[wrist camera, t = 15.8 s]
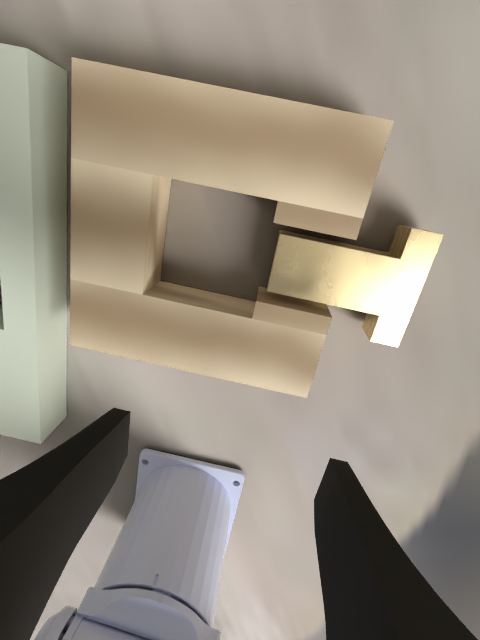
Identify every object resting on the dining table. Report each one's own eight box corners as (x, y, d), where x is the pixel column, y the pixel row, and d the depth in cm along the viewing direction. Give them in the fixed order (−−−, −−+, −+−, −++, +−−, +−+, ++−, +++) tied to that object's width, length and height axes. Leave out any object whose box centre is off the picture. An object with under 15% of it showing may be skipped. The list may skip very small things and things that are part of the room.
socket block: (303, 372, 22) (306, 398, 19) (95, 325, 23) (69, 344, 20) (375, 132, 17) (394, 120, 14) (104, 78, 17) (71, 57, 15)
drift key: (387, 332, 20) (397, 347, 18) (262, 305, 20) (260, 317, 19) (426, 230, 18) (443, 234, 16) (286, 201, 18) (287, 202, 16)
